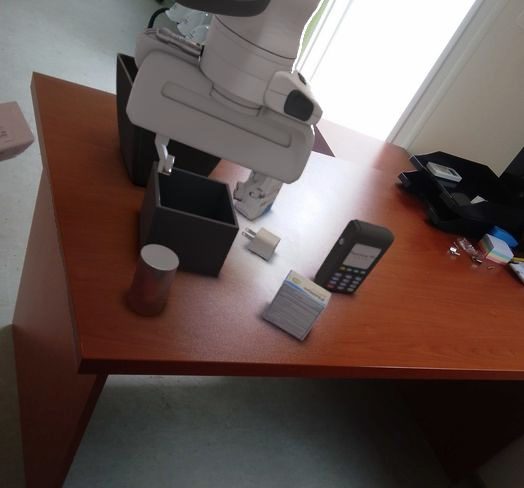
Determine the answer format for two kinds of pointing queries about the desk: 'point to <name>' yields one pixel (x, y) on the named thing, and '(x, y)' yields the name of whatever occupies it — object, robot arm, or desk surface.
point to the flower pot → (150, 135)
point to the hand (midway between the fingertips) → (202, 185)
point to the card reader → (353, 256)
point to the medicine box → (297, 305)
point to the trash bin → (189, 219)
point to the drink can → (152, 279)
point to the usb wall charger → (263, 242)
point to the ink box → (260, 198)
